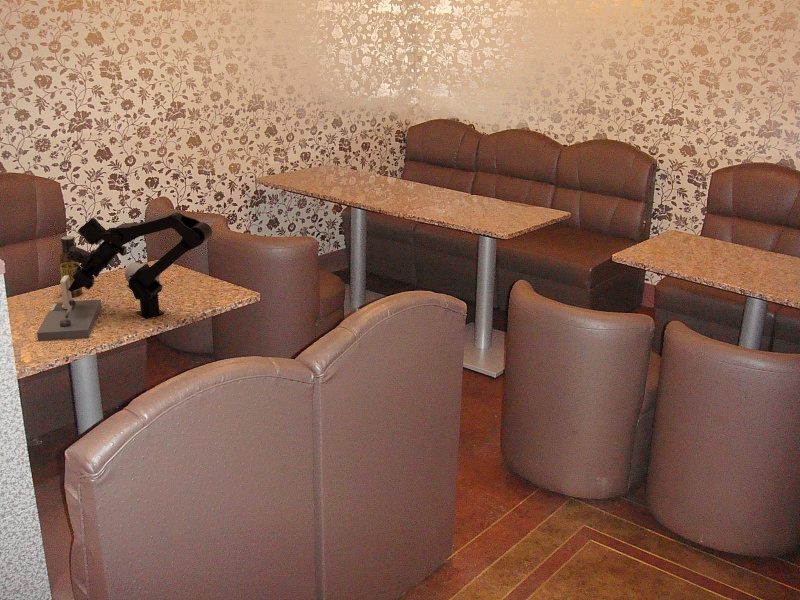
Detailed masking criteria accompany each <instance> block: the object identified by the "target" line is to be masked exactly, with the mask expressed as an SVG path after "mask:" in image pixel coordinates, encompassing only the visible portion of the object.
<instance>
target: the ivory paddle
mask: <svg viewBox="0 0 800 600" xmlns="http://www.w3.org/2000/svg"><path fill="white" fill-rule="evenodd" d="M59 283H60V291H61V296H62V301H63V305H62V308H64V309H68V307H69V301H70V300H73V296H72V295H71V291H69V290H68V289H69V288H70V280H69V275H67V276H63V278H62V279H60V282H59Z"/></svg>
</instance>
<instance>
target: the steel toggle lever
mask: <svg viewBox="0 0 800 600" xmlns="http://www.w3.org/2000/svg"><path fill="white" fill-rule="evenodd" d="M75 301H76V300H74V299H72V300H70V301H69V307H68V310H67V312H66V315H65V318H68V317H69V315H70V312H71V309H72V307H73V305H75Z"/></svg>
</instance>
